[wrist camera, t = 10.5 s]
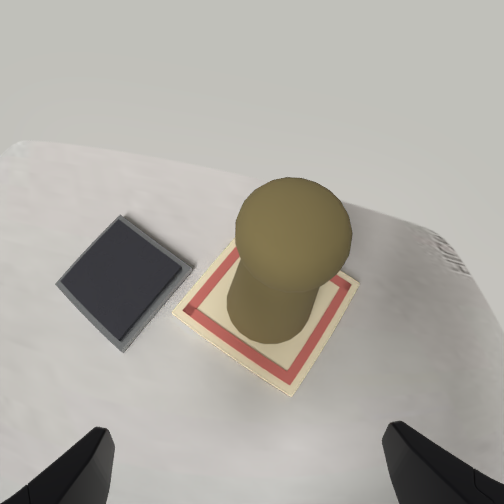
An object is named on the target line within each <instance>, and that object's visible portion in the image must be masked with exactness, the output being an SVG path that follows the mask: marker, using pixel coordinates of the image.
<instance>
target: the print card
mask: <svg viewBox="0 0 504 504" xmlns="http://www.w3.org/2000/svg"><path fill="white" fill-rule="evenodd" d="M240 259H241V258H240V256H239V253H238V250H237V247H236V245H235V238H234V239H233V240H232V241H231V243H230V244H229V245H228V246H227V247H226V248H225V250H224V251H223V252H222V253H221V254H220V255H219V257H218V258H217V259H216V260H215V261H214V262H213V264H212V265H211V266H210V267H209V268H208V269H207V271H206V272H205V273H204V274H203V275H202V277H201V278H200V279H199V280H198V281H197V282H196V284H195V285H194V286H193V287H192V288H191V290H190V291H189V292H188V293H187V294H186V296H185V297H184V298H183V299H182V300H181V301H180V303H179V304H178V305H177V306H176V307H175V309H174V310H173V311H172V314H173V315H174V316H176V317H177V318H178V319H179V320H181V321H182V322H183V323H185V324H186V325H187V326H189V327H190V328H191V329H193V330H194V331H195V332H197V333H198V334H199V335H201V336H202V337H203V338H205V339H206V340H207V341H209V342H210V343H212V344H213V345H214V346H216V347H217V348H218V349H220V350H221V351H223V352H224V353H225V354H227V355H228V356H230V357H231V358H233V359H234V360H235V361H237V362H238V363H240V364H241V365H243V366H244V367H246V368H247V369H249V370H250V371H251V372H253V373H254V374H256V375H257V376H259V377H260V378H262V379H263V380H265V381H266V382H268V383H270V384H271V385H273V386H274V387H276V388H277V389H279V390H280V391H282V392H284V393H285V394H287V395H288V396H290V397H292V396H293V395H294V393H295V392H296V390H297V389H298V387H299V386H300V384H301V383H302V381H303V380H304V378H305V376H306V375H307V373H308V372H309V370H310V369H311V367H312V366H313V364H314V362H315V361H316V359H317V358H318V356H319V354H320V353H321V351H322V349H323V348H324V346H325V345H326V343H327V341H328V340H329V338H330V336H331V335H332V333H333V331H334V329H335V328H336V326H337V324H338V323H339V321H340V319H341V317H342V316H343V314H344V312H345V310H346V309H347V307H348V305H349V303H350V301H351V300H352V298H353V296H354V294H355V292H356V290H357V288H358V287H359V285H360V283H359V282H357V281H356V280H354V279H353V278H351V277H350V276H348V275H347V274H345V273H343V272H342V271H339V272H338V273H337V275H335V276H334V277H333V278H332V279H330V280H329V281H328V282H327V283H325V284H324V285H322V286H320V288H319V291H318V294H317V296H316V299H315V302H314V305H313V308H312V311H311V314H310V317H309V320H308V322H307V323H306V325H305V326H304V328H303V329H302V331H301V332H300V333H298V334H297V335H296V336H295V337H293V338H292V339H291V340H288V341H285V342H282V343H279V344H262V343H258V342H255V341H252V340H250V339H248V338H247V337H245V336H244V335H242V334H241V333H240V332H239V331H238V330H237V329H236V327H235V326H234V325H233V324H232V322H231V320H230V317H229V314H228V311H227V294H228V291H229V289H230V286H231V283H232V280H233V278H234V275H235V273H236V270H237V267H238V265H239V262H240Z"/></svg>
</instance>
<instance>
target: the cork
mask: <svg viewBox="0 0 504 504" xmlns="http://www.w3.org/2000/svg"><path fill="white" fill-rule="evenodd" d="M351 240H352V229H351V224H350V219H349V216H348V214H347V212H346V210H345V208H344V207H343V205H342V203H341V201H340V200H339V199H338V198H337V197H336V196H335V195H334V194H333V193H332V192H331V191H330V190H328V189H327V188H325V187H323V186H321V185H320V184H318V183H316V182H313V181H310V180H306V179H302V178H290V177H286V178H281V179H276V180H272V181H270V182H268V183H266V184H264V185H263V186H261V187H259V188H257V189H255V190H254V191H253V192H252V193H251V194H250V196H249V197H248V198H247V199H246V200H245V201H244V203H243V205H242V207H241V209H240V212H239V214H238V217H237V219H236V232H235V245H236V247H237V250H238V253H239V256H240V258H241V259H240V262H239V265H238V267H237V270H236V273H235V275H234V278H233V280H232V283H231V286H230V289H229V291H228V294H227V311H228V314H229V317H230V320H231V322H232V324H233V325H234V326H235V327H236V329H237V330H238V331H239V332H240V333H241V334H242V335H244V336H245V337H247V338H248V339H250V340H252V341H255V342H258V343H262V344H279V343H282V342H285V341H288V340H291V339H292V338H293V337H295V336H296V335H297V334H298V333H300V332H301V331H302V329H303V328H304V326H305V325H306V323H307V322H308V320H309V317H310V314H311V311H312V308H313V305H314V302H315V299H316V296H317V294H318V291H319V288H320V286H322V285H324V284H325V283H327V282H328V281H329V280H330V279H332V278H333V277H334V276H335V275H337V273H338V272H339V271H340V269H341V268H342V266H343V264H344V263H345V261H346V259H347V258H348V256H349V252H350V246H351Z"/></svg>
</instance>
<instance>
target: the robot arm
mask: <svg viewBox="0 0 504 504" xmlns="http://www.w3.org/2000/svg"><path fill="white" fill-rule="evenodd" d="M382 445H383V449H384V453H385V457H386V462H387V466H388V470H389V474H390V478H391V481H392V484H393V487H394V490H395V493H396V495H397V498H398V501H399V504H504V484H502V483H500V482H498V481H496V480H494V479H491V478H490V477H488V476H486V475H484V474H483V473H481V472H479V471H478V470H476V469H473V467H471V466H470V465H468V464H466V463H465V462H463V461H462V460H460V459H458V458H457V457H455V456H454V455H452V454H451V453H449V452H448V451H446V450H444V449H443V448H441V447H440V446H438V445H437V444H435V443H434V442H432V441H431V440H429V439H428V438H426V437H425V436H423V435H422V434H420V433H419V432H417V431H416V430H414V429H413V428H411V427H410V426H408V425H407V424H406V423H404V422H402V421H395V422H391V423H390V424H389V425H388V427H387V429H386V431H385V433H384V435H383V438H382ZM114 452H115V445H114V442H113V439H112V437H111V435H110V432H109V430H108V429H107V428H102V427H95V428H93V429H92V430H91V431H90V432H89V433H87V434H86V435H85V436H84V437H83V438H82V439H81V440H79V441H78V442H77V443H76V444H75V445H73V446H72V447H71V448H70V449H69V450H68V451H66V452H65V453H64V454H63V455H62V456H60V457H59V458H58V459H57V460H56V461H55V462H53V463H52V464H51V465H50V466H49V467H47V468H46V469H45V470H44V471H43V472H41V473H40V474H39V475H38V476H37V477H35V478H34V479H33V480H32V481H30V482H29V483H28V485H25V486H24V487H23V488H22V489H21V490H19V491H18V492H17V493H15V494H14V495H13V496H11V497H10V498H8V499H7V500H5V501H4V502H2V503H1V504H106V501H107V497H108V493H109V488H110V482H111V474H112V466H113V459H114Z"/></svg>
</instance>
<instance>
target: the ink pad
mask: <svg viewBox="0 0 504 504" xmlns="http://www.w3.org/2000/svg"><path fill="white" fill-rule="evenodd" d="M191 272H192V267H190V266H189V265H187V264H186V263H185V262H183V261H182V260H181V259H179V258H178V257H176V256H175V255H174V254H172V253H171V252H170V251H168V250H167V249H165V248H164V247H163V246H161V245H160V244H159V243H157V242H156V241H155V240H153V239H152V238H151V237H149V236H148V235H147V234H145V233H144V232H143V231H141V230H140V229H139V228H137V227H136V226H135V225H133V224H132V223H131V222H129V221H128V220H127V219H125V218H124V217H123V216H121V215H120V216H119V217H117V218H116V219H115V220H114V221H113V222H112V223H111V224H110V225H109V226H108V227H107V228H106V230H105V231H104V232H103V233H102V234H101V235H100V236H99V237H98V238H97V239H96V240H95V241H94V242H93V243H92V244H91V245H90V246H89V247H88V248H87V249H86V250H85V251H84V253H83V254H82V255H81V256H80V257H79V258H78V259H77V260H76V261H75V262H74V263H73V265H72V266H71V267H70V268H69V269H68V270H67V271H66V272H65V274H64V275H63V276H62V277H61V278H60V279H59V280H58V282H57V283H56V286H57V287H58V288H59V289H60V290H61V291H62V292H63V293H64V295H65V296H66V297H67V298H68V299H69V300H70V301H71V302H72V303H73V304H74V305H75V307H76V308H77V309H78V310H79V311H80V312H81V313H82V314H83V315H84V316H85V317H86V318H87V319H88V320H89V321H90V322H91V323H92V324H93V325H94V326H95V327H96V328H97V329H98V330H99V331H100V332H101V333H102V334H103V335H104V336H105V337H106V338H107V339H108V340H109V341H110V342H111V343H112V344H113V345H115V346H116V347H117V348H118V349H119V350H120V351H121V352H123V353H124V352H125V350H126V349H127V348H128V347H129V345H130V344H131V343H132V342H133V341H134V339H135V338H136V337H137V336H138V335H139V333H140V332H141V331H142V330H143V329H144V327H145V326H146V325H147V324H148V323H149V321H150V320H151V319H152V318H153V317H154V315H155V314H156V313H157V312H158V311H159V309H160V308H161V307H162V306H163V305H164V304H165V302H166V301H167V300H168V299H169V298H170V296H171V295H172V294H173V293H174V292H175V291H176V289H177V288H178V287H179V286H180V285H181V284H182V282H183V281H184V280H185V279H186V278H187V277H188V275H189V274H190V273H191Z"/></svg>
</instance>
